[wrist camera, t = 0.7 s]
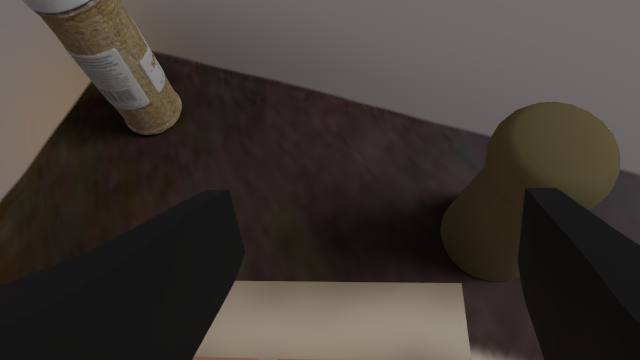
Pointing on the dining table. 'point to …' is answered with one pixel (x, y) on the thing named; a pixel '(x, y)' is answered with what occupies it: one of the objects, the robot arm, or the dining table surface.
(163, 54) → the dining table surface
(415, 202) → the dining table surface
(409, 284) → the low rectangular platform
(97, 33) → the sprinkles bottle
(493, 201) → the cork
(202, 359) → the tile
